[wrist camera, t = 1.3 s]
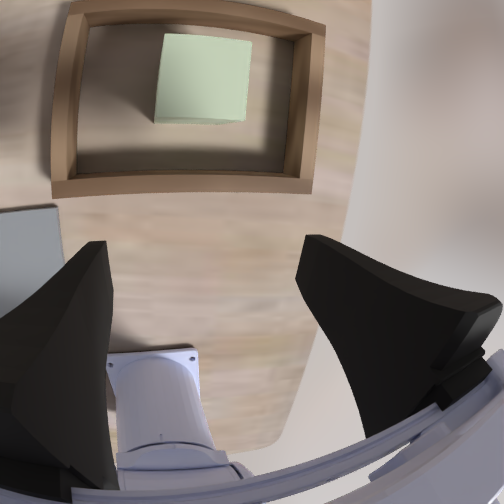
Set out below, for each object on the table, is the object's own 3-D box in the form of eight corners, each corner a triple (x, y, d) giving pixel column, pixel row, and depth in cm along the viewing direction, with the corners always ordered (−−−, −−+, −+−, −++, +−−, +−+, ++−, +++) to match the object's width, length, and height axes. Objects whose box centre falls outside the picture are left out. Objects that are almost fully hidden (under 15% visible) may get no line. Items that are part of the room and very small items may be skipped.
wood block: (216, 125, 18) (245, 120, 12) (153, 123, 16) (155, 117, 11) (221, 67, 16) (252, 42, 11) (159, 64, 15) (164, 33, 10)
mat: (80, 333, 19) (79, 336, 19) (1, 332, 17) (-1, 335, 16) (57, 206, 16) (56, 208, 15) (-30, 216, 13) (-33, 218, 13)
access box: (294, 187, 21) (311, 194, 19) (63, 191, 16) (52, 199, 13) (307, 34, 17) (325, 25, 14) (79, 16, 11) (71, 2, 9)
